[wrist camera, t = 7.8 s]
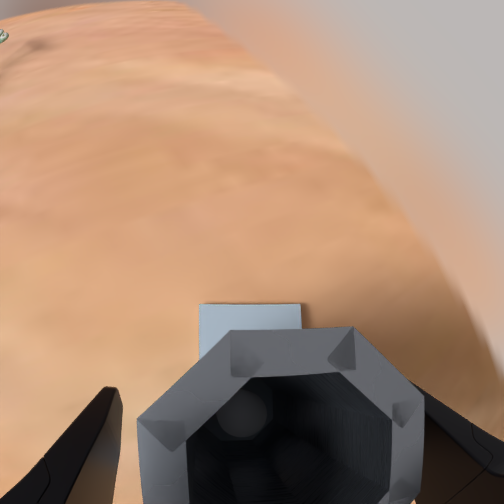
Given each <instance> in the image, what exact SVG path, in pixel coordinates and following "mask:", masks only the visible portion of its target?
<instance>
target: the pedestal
mask: <svg viewBox="0 0 504 504" xmlns="http://www.w3.org/2000/svg"><path fill="white" fill-rule="evenodd" d="M277 329H302V323H301V307H300V304H259V305H231V304H199V360H200V359H201V358H202V357H203V356H204V355H205V354H206V353H207V352H208V351H209V350H210V349H211V348H212V347H213V346H214V345H215V344H216V343H217V342H218V341H220V340H221V339H222V338H223V337H224V336H225V335H226V334H227V333H228V332H229V330H277ZM272 419H273V401H272V389H271V388H270V387H268V386H267V385H266V384H265V383H264V382H263V381H262V380H261V379H260V378H259V377H251V378H250V379H249V380H248V381H247V382H246V383H245V384H244V385H243V386H242V387H241V388H240V389H239V390H238V391H237V392H236V393H235V394H234V395H233V396H232V397H231V398H230V399H229V400H228V401H227V402H226V403H225V404H224V405H223V406H222V407H221V408H220V409H219V410H218V411H217V412H216V413H215V414H214V415H213V416H212V417H210V418H209V419H208V420H207V421H206V422H205V423H204V424H203V425H204V426H205V427H206V428H207V429H208V430H210V431H211V432H212V433H213V434H214V435H215V436H216V437H218V438H219V439H220V440H221V441H229V440H252V439H253V438H254V437H255V436H256V435H257V434H258V433H259V432H260V431H261V430H262V429H263V428H264V427H265V426H266V425H267V424H268V423H269V422H270V421H271V420H272Z"/></svg>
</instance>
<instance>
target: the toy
mask: <svg viewBox="0 0 504 504" xmlns="http://www.w3.org/2000/svg"><path fill="white" fill-rule="evenodd" d="M3 32H4V31H3V29H0V36H1V37H0V43H2V42H4V41H5V40H6V39H7V38H8V37H9V34H8V33H3Z"/></svg>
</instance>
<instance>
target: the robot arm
mask: <svg viewBox="0 0 504 504" xmlns="http://www.w3.org/2000/svg"><path fill="white" fill-rule="evenodd" d="M407 380H408V379H407ZM408 381H409V380H408ZM409 382H410V383H411V384H412V385H413V386H414V387H415V388H416V389H417V390H418V391H419V392H420V393H421V394H422V395H423V396H424V448H423V465H422V478H421V488H420V492H419V494H418V495H417V496H416V498H415V502H416V504H504V442H503V441H501V440H499V439H497V438H496V437H494V436H492V435H490V434H488V433H487V432H485V431H484V430H482V429H480V428H479V427H477V426H476V425H474V424H473V423H471V422H470V421H468V420H467V419H465V418H464V417H462V416H461V415H459V414H458V413H456V412H455V411H453V410H452V409H450V408H449V407H447V406H446V405H444V404H443V403H442V402H440V401H439V400H437V399H436V398H434V397H433V396H431V395H430V394H428V393H427V392H425V391H424V390H422V389H421V388H419V387H418V386H416V385H415V384H414V383H412V382H411V381H409ZM122 414H123V405H122V401H121V398H120V395H119V391H118V389H117V388H116V387H108V386H106V387H104V388H103V389H102V390H101V391H100V392H99V393H98V394H97V395H96V396H95V398H94V399H93V400H92V401H91V402H90V403H89V404H88V405H87V407H86V408H85V409H84V410H83V411H82V412H81V413H80V415H79V416H78V417H77V418H76V419H75V420H74V421H73V422H72V424H71V425H70V426H69V427H68V428H67V429H66V430H65V432H64V433H63V434H62V435H61V436H60V437H59V439H58V440H57V441H56V442H55V443H54V444H53V445H52V447H51V448H50V449H49V450H48V451H47V452H46V454H45V455H44V457H42V458H41V459H40V460H39V462H38V463H37V464H36V465H35V466H34V467H33V468H32V469H31V470H30V472H29V473H28V474H27V475H26V476H25V477H24V478H23V479H21V480H20V481H19V482H18V483H17V484H16V485H15V486H14V487H13V488H12V489H11V490H9V491H8V492H7V493H6V494H5V495H4V496H3V497H2V498H0V504H112V503H113V495H114V488H115V481H116V475H117V468H118V462H119V456H120V447H121V429H122Z"/></svg>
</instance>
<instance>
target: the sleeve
mask: <svg viewBox="0 0 504 504" xmlns="http://www.w3.org/2000/svg"><path fill="white" fill-rule="evenodd" d="M251 377H259V378H260V379H261V380H262V381H263V382H264V383H265V384H266V385H267V386H268V387H270V388H271V389H272V401H273V419H272V420H271V421H270V422H269V423H268V424H267V425H266V426H265V427H264V428H263V429H262V430H261V431H260V432H259V433H258V434H257V435H256V436H255V437H254V438H253V439H252V440H229V441H221V440H220V439H219V438H218V437H216V436H215V435H214V434H213V433H212V432H211V431H210V430H208V429H207V428H206V427H205V426H204V425H203V424H204V423H205V422H206V421H207V420H208V419H209V418H210V417H212V416H213V415H214V414H215V413H216V412H217V411H218V410H219V409H220V408H221V407H222V406H223V405H224V404H225V403H226V402H227V401H228V400H229V399H230V398H231V397H232V396H233V395H234V394H235V393H236V392H237V391H238V390H239V389H240V388H241V387H242V386H243V385H244V384H245V383H246V382H247V381H248V380H249V379H250V378H251ZM137 436H138V452H139V465H140V477H141V487H142V496H143V504H411V502H412V501H413V500H414V499H415V498H416V496H417V495H418V494H419V492H420V488H421V478H422V465H423V448H424V396H423V395H422V394H421V393H420V392H419V391H418V390H417V389H416V388H415V387H414V386H413V385H412V384H411V383H410V382H409V381H408V380H407V379H406V378H405V377H404V376H403V375H402V374H401V373H400V372H399V371H398V370H397V369H396V368H395V367H394V366H393V365H392V364H391V363H390V362H389V361H388V360H387V359H386V358H385V357H384V356H383V355H382V354H381V353H380V352H379V351H378V350H377V349H376V348H375V347H374V346H373V345H372V344H371V343H370V342H369V341H368V340H367V339H366V338H365V337H364V336H363V335H361V334H360V333H359V332H358V331H357V330H356V329H355V328H354V326H352V327H334V328H312V329H277V330H229V332H228V333H227V334H226V335H225V336H224V337H223V338H222V339H221V340H220V341H218V342H217V343H216V344H215V345H214V346H213V347H212V348H211V349H210V350H209V351H208V352H207V353H206V354H205V355H204V356H203V357H202V358H201V359H200V360H199V361H198V362H197V363H196V364H195V365H194V366H193V367H192V368H191V369H190V370H189V371H187V372H186V373H185V374H184V375H183V376H182V377H181V378H180V379H179V380H178V381H177V382H176V383H175V384H174V385H173V386H172V387H171V388H170V389H168V390H167V391H166V392H165V393H164V394H163V395H162V396H161V397H160V398H159V399H158V400H157V401H156V402H155V403H153V404H152V405H151V406H150V407H149V408H148V409H147V410H146V411H145V412H144V413H143V414H142V415H140V416H139V417H138V418H137Z"/></svg>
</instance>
